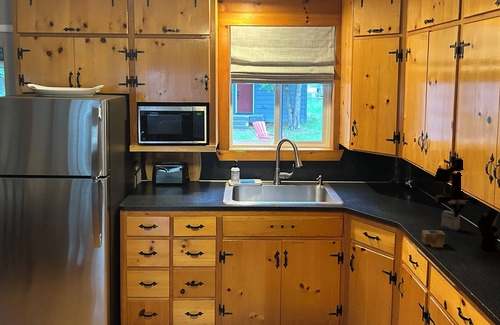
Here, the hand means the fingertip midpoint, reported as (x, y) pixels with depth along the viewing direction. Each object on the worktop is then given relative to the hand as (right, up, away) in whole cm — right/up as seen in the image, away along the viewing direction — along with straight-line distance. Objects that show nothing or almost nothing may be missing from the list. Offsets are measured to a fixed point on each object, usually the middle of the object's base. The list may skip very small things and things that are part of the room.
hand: (455, 217), depth 265 cm
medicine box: (+6, -8, +24) cm, 27 cm away
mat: (-10, -12, -1) cm, 16 cm away
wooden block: (-7, -9, -2) cm, 12 cm away
